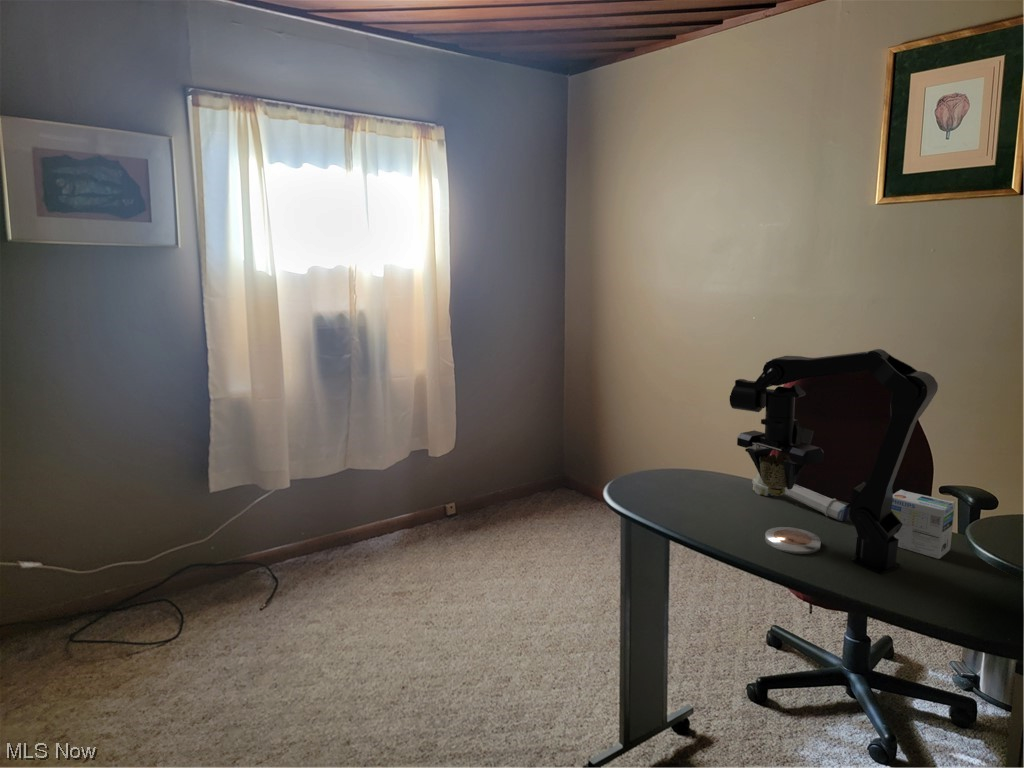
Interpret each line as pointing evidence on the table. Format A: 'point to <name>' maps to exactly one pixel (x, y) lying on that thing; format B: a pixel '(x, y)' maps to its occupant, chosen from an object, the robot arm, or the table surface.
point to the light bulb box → (923, 523)
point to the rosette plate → (792, 540)
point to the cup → (773, 473)
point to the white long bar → (808, 499)
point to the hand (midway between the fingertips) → (776, 484)
